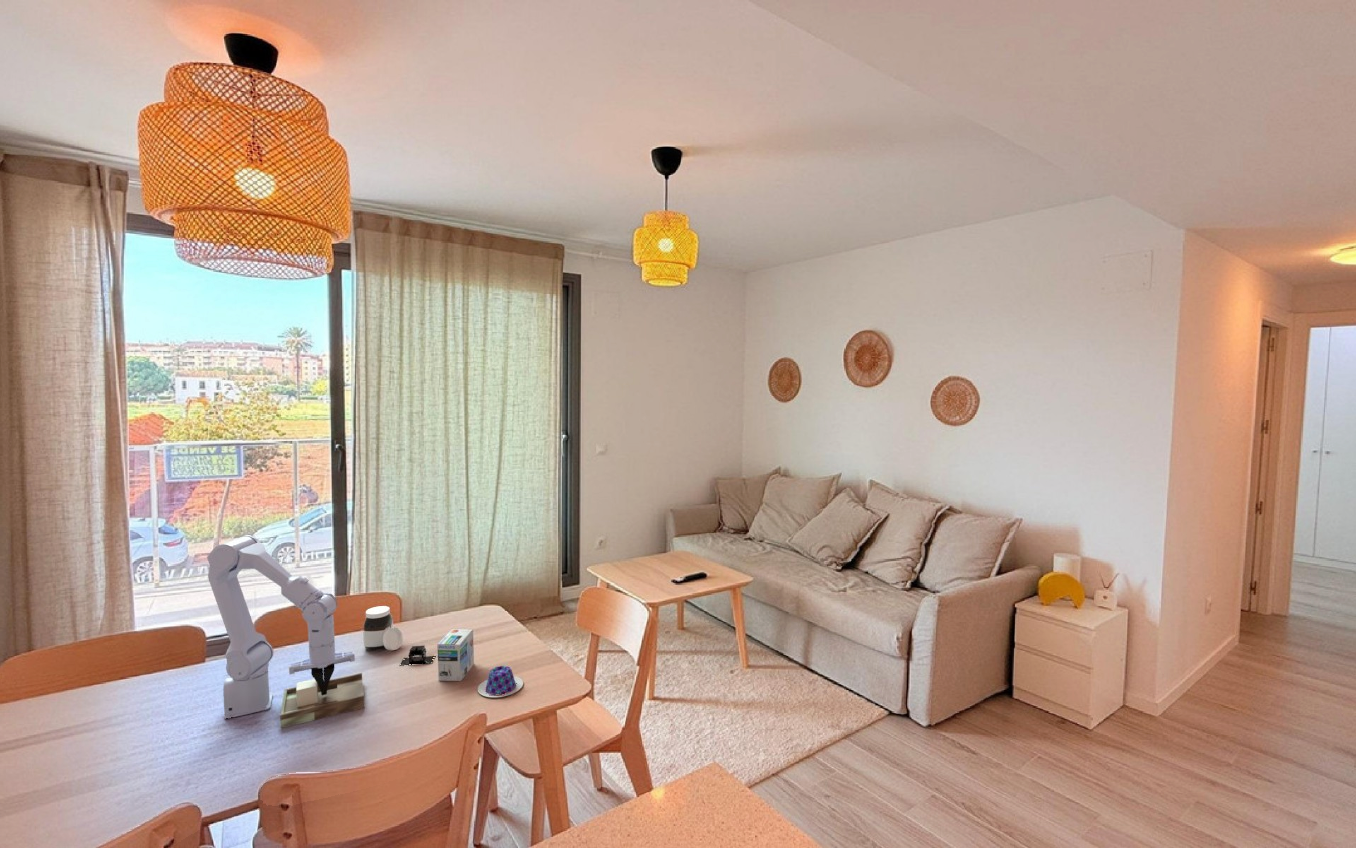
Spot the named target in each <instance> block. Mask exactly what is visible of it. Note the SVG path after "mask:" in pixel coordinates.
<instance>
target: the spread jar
mask: <svg viewBox="0 0 1356 848" xmlns="http://www.w3.org/2000/svg"><path fill="white" fill-rule="evenodd" d="M390 610H391V608H390V606H386V605H382V606H381V605H380V606H379V605H378V606H375V607H371V608H368V609H367V610H366V611H365V620H364V622H363V626H362V627H363V630H362V631H363V632H362V633H363V638H362V639H363V647H364V649H366V650H369V651H381V650H384V649H386V650H388V651H391V652H392V651H395V650H396V651H397V650H398V649H399V648H400V647H401V646H402V644H403V640H404V639H403V633H402V631H401V630H400V628H398V627H394V618H393V615H392V614H391V613H390V612H391V611H390Z"/></svg>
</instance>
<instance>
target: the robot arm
mask: <svg viewBox="0 0 1356 848" xmlns="http://www.w3.org/2000/svg"><path fill="white" fill-rule="evenodd" d="M206 558H207V559H206V560H207V561H208V564H209V566H208V567H209V568H208V574H207V579H208V582H209V584H210V588H211V590H212V593H213V596H214V599H215V601H216V605H217V608H218V610H219V612H220V615H221V619H222V621H223V626H224V627H225V630H226V633H227V636H228V638H229V641H230V643H229V646H228V647H227V650H226V653H225V659H226V667H225V670H226V673H227V675H228V677H226V678H224V681H223V694H222V695H223V710H224V718H225V719H224V720H227V719H226V718H228V719H232V718H231V717H233V718H237V717H240V716H244V715H250V714H254V713H258V712H263V711H266V710H268V711H269V710H270V709H271V706H272V703H273V702H272V701H273V695H274V694H273V693H270V681H269V678H270V677H269V665H270V664H269V663H270V661H271V660H272V659H273V657H274V653H275V652H274V648H273V646H272V645H271V644H270V643H269V642H268V641H267V639H266V636H265V634H262V633H259V632H257V631H256V628H255V625H254V622H253V620H252V616H251V614H250V611H249V607H248V605H247V602H246V599H245V596H244V593H243V590H242V587H241V585H240V581H239V579H238V575H239V573H240V571H242V570H251V569H252V570H253V569H254V570H255V571H257V572H258V573H260V574H262V576H264V577H266V579H267V578H268V579H269V580H270V581H272V582H273V583H275V584H276V585H278V586H279V587H280V591H281V592H280V593H281V595H282V596H283V597H285V599H287V601H290V602H291V603H292V604H293V605H294V606H295V607H297V608H298V609H299V610H301V616H302V618H303V620H304V621H305V622H306V623H307V624H306V625H307V626H306V627H307V634H308V654H309V658H306V659H303V660H301V661H296V662H294V663H290V664H289V667H288V673H289V675H294V674H295V673H298V672H303V671H308V670H311V672H310V673H311V676H312V679H315V680H316V682H317V683H318V685H319V688H320V690H321V695H326V694H327V688H328V684H329V681H330V680H331V678H332V675H333V673H334V671H335V665H337V664H341V663H346V662H355V660H356V658H355V650H354V651H346V652H336V647H335V646H336V645H335V644H336V643H335V642H336V641H335V619H334V612H335V611H336V610H337V608H338V601H337V599H336V597H335V596H334V594H333V593H329V592H323V591H321V590H319V589H317V588H316V587H315V586H314V585H312V584H311V583H310V582H309V579H308V578H306V577H302V576H300V575H298V576H297V575H296V576H295V575H292V574H291V573H290V572H289V571H287V569H286V568H285V567H283V566H282V565H281V564H280V563H279V562H278V561H277V560H276V559H275V558H274V557H272V555H271V554H269V552H268V551H267V549H266V548H265V544H264V543H262V542H260V541H259V540H258V539H257V538H256V537H254V536H253V535H249V534H248V535H247V534H246V535H242V536H239V537H237V538H235V539H232V540H230V541H228V542H225V543H221V544H218V545H216V546H215V547H214V548H213V549H212V550H211V551H210V552H209V554H208V555H207V557H206Z"/></svg>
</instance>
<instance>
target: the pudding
mask: <svg viewBox="0 0 1356 848" xmlns="http://www.w3.org/2000/svg"><path fill="white" fill-rule="evenodd" d="M516 683H517V684H516ZM485 686H486V688H485ZM523 686H524V681H523V679H522V678H520V677H519V676H516V675H514V674H513V669H511V667H509V666H507V665H506V666H505V665H500V666H496V667H494V668H492V669H490V670H489V673H488V677H487V679H485V680H484V681H482V682H481V683H480V684H479V685H478V686H477V691H478V693H479V695H482V697H483V696H484V697H487V698H503V697H506V696H510V695H513V694H514V693H517V692H518V691H520V689H521V688H523ZM484 688H485V690H484ZM515 688H516V689H515ZM484 691H485V692H484ZM485 693H487V694H485ZM505 693H506V694H505ZM507 693H508V694H507ZM489 694H490V695H496V694H497V695H498V694H499V695H502V694H505V695H504V696H489Z"/></svg>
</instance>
